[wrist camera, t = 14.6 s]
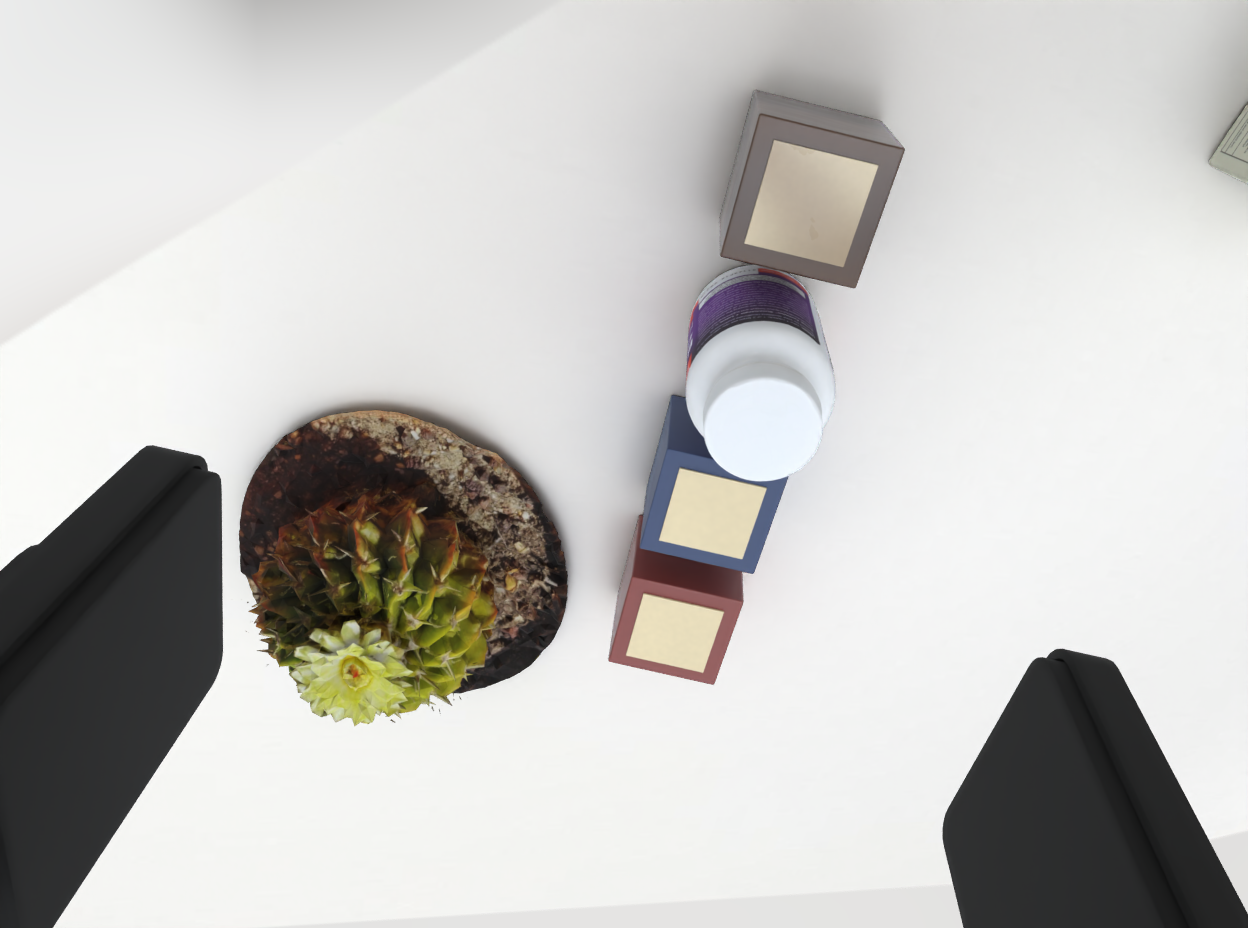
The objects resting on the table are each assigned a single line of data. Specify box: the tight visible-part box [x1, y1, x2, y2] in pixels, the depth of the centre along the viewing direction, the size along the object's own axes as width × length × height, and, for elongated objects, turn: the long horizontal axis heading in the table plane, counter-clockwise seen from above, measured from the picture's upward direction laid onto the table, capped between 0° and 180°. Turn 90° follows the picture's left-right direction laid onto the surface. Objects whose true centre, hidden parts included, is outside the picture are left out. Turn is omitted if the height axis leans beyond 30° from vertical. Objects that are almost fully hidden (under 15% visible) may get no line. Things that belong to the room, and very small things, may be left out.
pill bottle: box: [686, 265, 836, 481], centre depth 36 cm, size 5×5×10 cm
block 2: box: [608, 515, 743, 685], centre depth 45 cm, size 5×5×5 cm
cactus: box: [239, 410, 568, 726], centre depth 44 cm, size 17×16×10 cm
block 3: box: [720, 90, 905, 288], centre depth 35 cm, size 5×5×5 cm
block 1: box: [640, 395, 788, 574], centre depth 41 cm, size 5×5×5 cm
